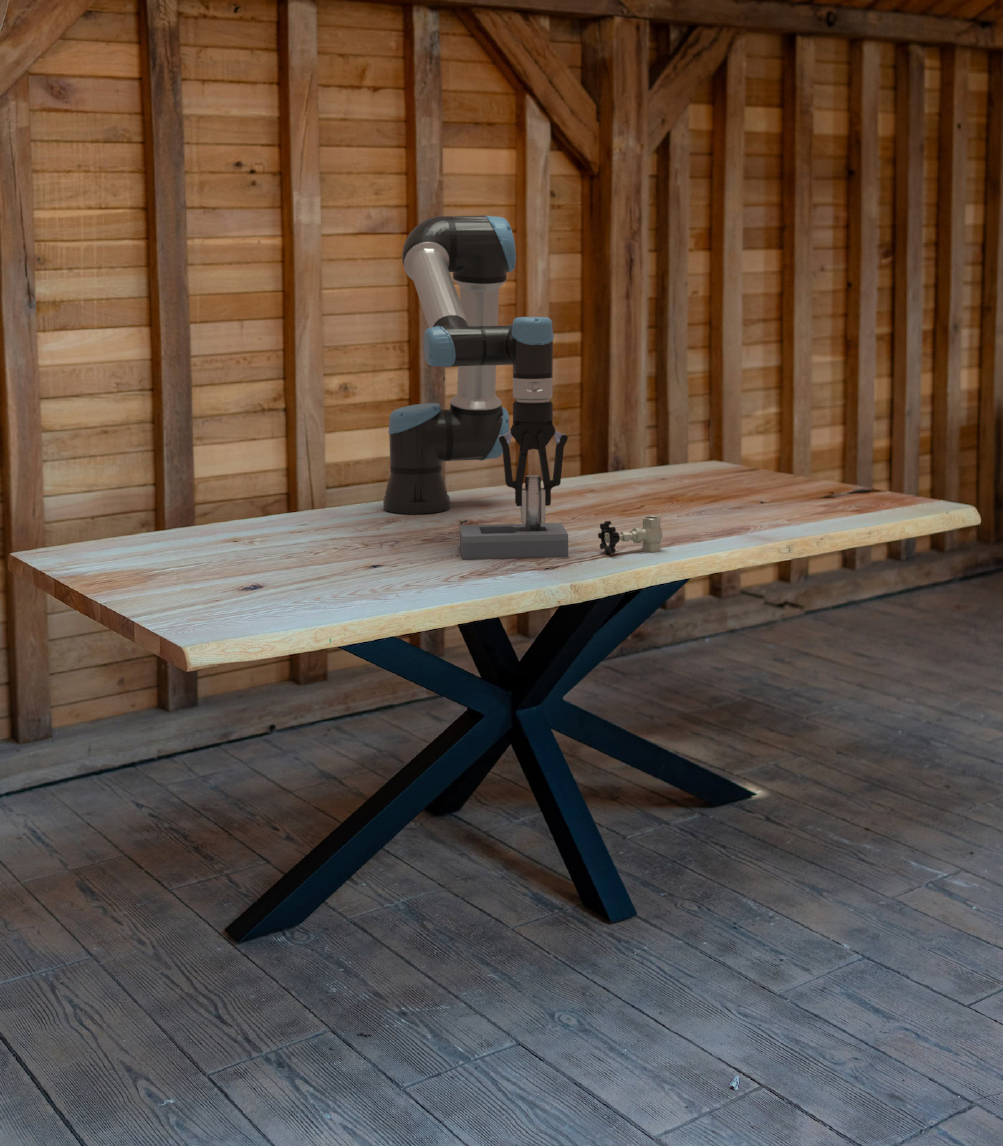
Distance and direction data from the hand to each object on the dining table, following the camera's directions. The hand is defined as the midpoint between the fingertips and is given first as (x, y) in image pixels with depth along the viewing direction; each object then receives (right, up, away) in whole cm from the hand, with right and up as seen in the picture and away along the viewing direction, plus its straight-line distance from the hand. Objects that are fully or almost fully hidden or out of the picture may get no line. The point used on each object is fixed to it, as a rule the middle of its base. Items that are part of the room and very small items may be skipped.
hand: (532, 522), depth 260 cm
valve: (+19, -6, 0) cm, 20 cm away
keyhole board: (-4, -6, +1) cm, 7 cm away
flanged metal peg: (0, -4, +1) cm, 5 cm away
